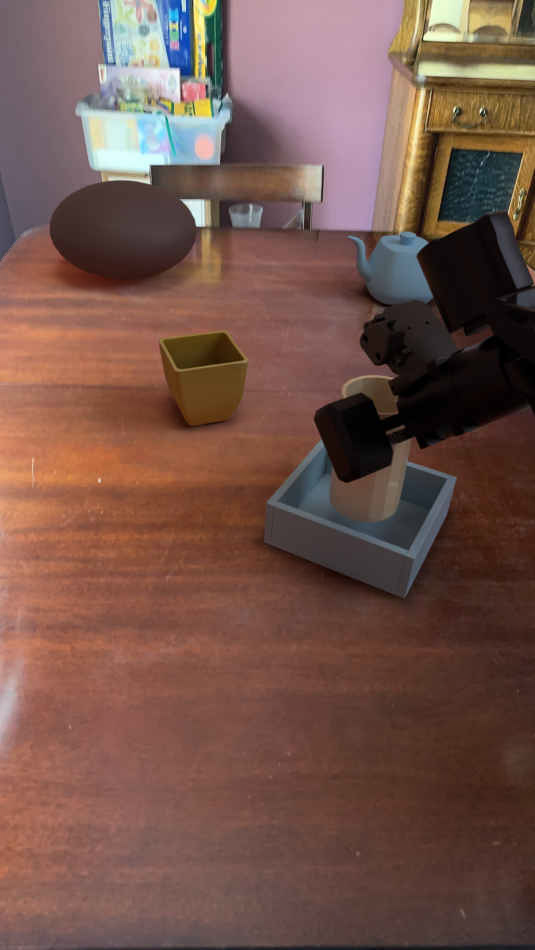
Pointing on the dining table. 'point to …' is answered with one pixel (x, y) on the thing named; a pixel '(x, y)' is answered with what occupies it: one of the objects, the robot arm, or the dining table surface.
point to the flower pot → (204, 375)
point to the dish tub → (358, 524)
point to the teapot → (394, 269)
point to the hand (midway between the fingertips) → (363, 437)
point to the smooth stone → (123, 229)
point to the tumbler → (379, 489)
